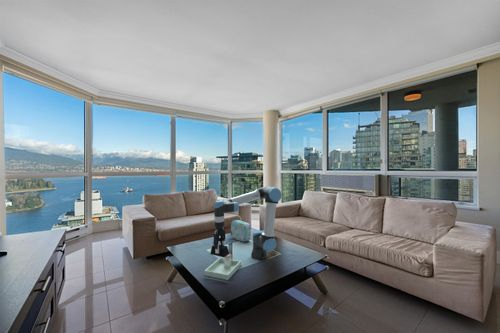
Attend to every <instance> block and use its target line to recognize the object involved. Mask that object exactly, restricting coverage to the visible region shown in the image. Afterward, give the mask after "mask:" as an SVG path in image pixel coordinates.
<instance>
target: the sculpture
mask: <svg viewBox="0 0 500 333" xmlns="http://www.w3.org/2000/svg"><path fill="white" fill-rule="evenodd" d="M223 240H224V236H223V235H222V238H221V237H219V254H218V253H215V245H212V246H211V249H210V254H209V255H213V256H216V257H219V258H224V257H225V256H227V255H228V254H230V251H229V246H227V245H225V244H224V245H222V241H223Z"/></svg>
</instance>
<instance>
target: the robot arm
mask: <svg viewBox="0 0 500 333" xmlns="http://www.w3.org/2000/svg"><path fill="white" fill-rule="evenodd" d="M282 196H283V195H282V191H281V189H279V188H278V187H276V186H268V185H267V186H263V187H260V188H256V189H255V190H254V191H250V192H248V193H244V194H240V195H238V196H237V195H236V196H235V197H231V198H229V199H222V200H216V201H214V203H213V204H214V205H213V211H214V212H213V213H214V214H213V215H214V223H213V224H214V228H215V231H213V242H212V243H213V245H215V253H218V254H219V245H220V241H219V238H222V235H223V236H224V240H223V241H222V245H224V246H225V241H226V227H225V214H227V213H235V212H236V213H237V212H239V210H240V209H239V208H240V206H241V205H244V204H247V203H249V202H252V201H255V200H258V201H260V200H264V203H265V204H266V205H265V214H264V222H263V230H255V231H253V232H252V251H251V253H250V257H251V258H252V259H253V260H258V261H263V260H266V259H267V258H268V257H269V254H268V253H270V252H271V253H272V252H273V251H274V250H275V249H276V248H277V245H278V244H277V241H276V239H275V237H276V235H275V233H274V229H275V219H276V212H277V210H276V209H277V205H279V201H281V199H282ZM213 245H212V246H213Z"/></svg>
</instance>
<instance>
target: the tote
mask: <svg viewBox="0 0 500 333" xmlns="http://www.w3.org/2000/svg"><path fill="white" fill-rule="evenodd" d="M241 266H242V260H237V259H232V258H231V267H229V268H226V267H224V257H219V258H217V259H216V260H215V261H214V262H213V263H212V264H210V265H209V266H208V267H207V268H205V269H204V271H203V272H204V273H203V274H204V277H206V278H208V277H209V278H211V279H214V280H215V279H216V280H217V279H218V280H219V281H222V280H223V281H224V282H227V281H229V280H230V278H232V276H233V275H234V274H235V273H236V272H237V271H238V270H239V269H240V267H241Z"/></svg>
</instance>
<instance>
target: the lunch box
mask: <svg viewBox="0 0 500 333" xmlns="http://www.w3.org/2000/svg"><path fill="white" fill-rule="evenodd" d="M251 230H252V229H251V224H250V223H249V222H246V221H242V220H239V219H235V220H232V221H231V223H230V235H231V238H232V239H234V240H235V241H240V242H244V243H245V242H248V241H251V236H252V234H251V233H252V232H251Z"/></svg>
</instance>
